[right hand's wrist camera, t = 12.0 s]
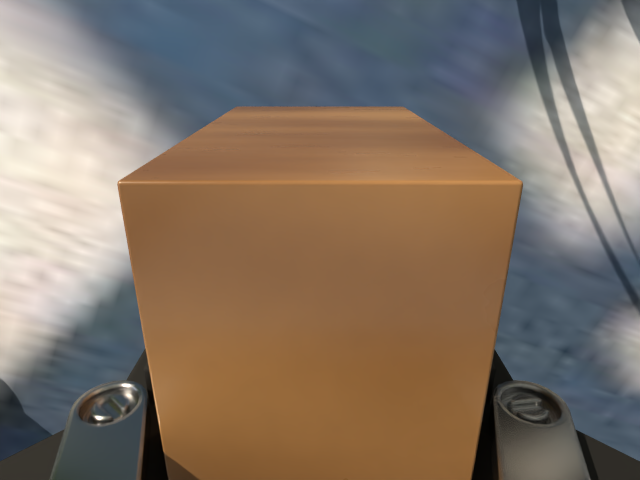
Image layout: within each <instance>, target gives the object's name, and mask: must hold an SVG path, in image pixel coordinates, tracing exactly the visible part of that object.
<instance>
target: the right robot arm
mask: <svg viewBox="0 0 640 480" xmlns="http://www.w3.org/2000/svg"><path fill="white" fill-rule="evenodd" d="M0 480H168V475H167V469H166V464H165V458H164V452H163V446H162V440H161V435H160V429H159V423H158V417H157V411H156V406H155V400H154V394H153V388H152V382H151V376H150V371H149V365H148V359H147V353H146V348H145V350H144V352H143V353H142V355H141V357H140V358H139V360H138V362H137V363H136V365H135V367H134V368H133V370H132V372H131V373H130V375H129V377H128V378H127V380H122V381H112V382H109V383H105V384H102V385H99V386H97V387H95V388H92V389H91V390H89V391H88V392H86V393H85V394H83V395H82V396H81V397H80V398H79V399H78V400H77V401H76V402H75V403H74V405H73V406H72V408H71V410H70V413H69V416H68V420H67V423H66V426H65V429H64V430H62V431H60V432H58V433H56V434H54V435H52V436H50V437H48V438H46V439H44V440H42V441H40V442H38V443H36V444H34V445H32V446H30V447H28V448H26V449H24V450H22V451H20V452H18V453H16V454H14V455H12V456H10V457H8V458H6V459H4V460H2V461H0ZM472 480H640V461H638V460H636V459H634V458H632V457H630V456H628V455H626V454H624V453H622V452H620V451H618V450H616V449H614V448H611V447H609V446H607V445H605V444H603V443H601V442H599V441H597V440H595V439H593V438H591V437H589V436H587V435H585V434H583V433H581V432H579V431H577V430H575V426H574V423H573V420H572V416H571V413H570V410H569V408H568V406H567V405H566V403H565V402H564V401H563V400H562V399H561V398H560V397H559V396H558V395H557V394H555V393H554V392H552V391H551V390H549V389H548V388H545V387H543V386H541V385H538V384H535V383H531V382H528V381H518V380H513V379H512V377H511V376H510V374H509V372H508V371H507V369H506V367H505V366H504V364H503V362H502V361H501V359H500V357H499V356H498V354H497V352H496V351H495V349H494V354H493V360H492V366H491V372H490V377H489V383H488V389H487V395H486V400H485V406H484V412H483V418H482V423H481V429H480V435H479V441H478V447H477V452H476V458H475V464H474V470H473V475H472Z"/></svg>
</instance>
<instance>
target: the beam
mask: <svg viewBox="0 0 640 480" xmlns="http://www.w3.org/2000/svg"><path fill="white" fill-rule="evenodd" d="M522 188H523V182H522V181H521V180H519V179H518V178H516V177H514V176H513V175H511V174H510V173H508V172H506V171H505V170H503V169H502V168H500V167H498V166H497V165H495V164H494V163H492V162H490V161H489V160H487V159H486V158H484V157H483V156H481V155H479V154H478V153H476V152H475V151H473V150H471V149H470V148H468V147H467V146H465V145H463V144H462V143H460V142H459V141H457V140H455V139H454V138H452V137H451V136H449V135H448V134H446V133H444V132H443V131H441V130H440V129H438V128H436V127H435V126H433V125H432V124H430V123H428V122H427V121H425V120H424V119H422V118H420V117H419V116H417V115H416V114H414V113H413V112H411V111H409V110H408V109H406V108H405V107H235V108H234V109H232V110H231V111H229V112H227V113H226V114H224V115H223V116H221V117H219V118H218V119H216V120H215V121H213V122H211V123H210V124H208V125H207V126H205V127H204V128H202V129H200V130H199V131H197V132H196V133H194V134H192V135H191V136H189V137H188V138H186V139H184V140H183V141H181V142H180V143H178V144H177V145H175V146H173V147H172V148H170V149H169V150H167V151H165V152H164V153H162V154H161V155H159V156H158V157H156V158H154V159H153V160H151V161H150V162H148V163H146V164H145V165H143V166H142V167H140V168H138V169H137V170H135V171H134V172H132V173H131V174H129V175H127V176H126V177H124V178H123V179H121V180H119V181H118V191H119V197H120V202H121V208H122V214H123V220H124V226H125V231H126V237H127V243H128V249H129V255H130V260H131V266H132V272H133V278H134V284H135V289H136V295H137V301H138V307H139V313H140V318H141V324H142V330H143V336H144V342H145V347H146V353H147V359H148V365H149V371H150V376H151V382H152V388H153V394H154V400H155V406H156V411H157V417H158V423H159V429H160V435H161V440H162V446H163V452H164V458H165V464H166V469H167V475H168V480H472V475H473V470H474V464H475V458H476V452H477V447H478V441H479V435H480V429H481V423H482V418H483V412H484V406H485V400H486V395H487V389H488V383H489V377H490V372H491V366H492V360H493V354H494V349H495V343H496V337H497V331H498V326H499V320H500V314H501V308H502V303H503V297H504V291H505V285H506V280H507V274H508V268H509V262H510V257H511V251H512V245H513V239H514V234H515V228H516V222H517V216H518V211H519V205H520V199H521V193H522Z"/></svg>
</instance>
